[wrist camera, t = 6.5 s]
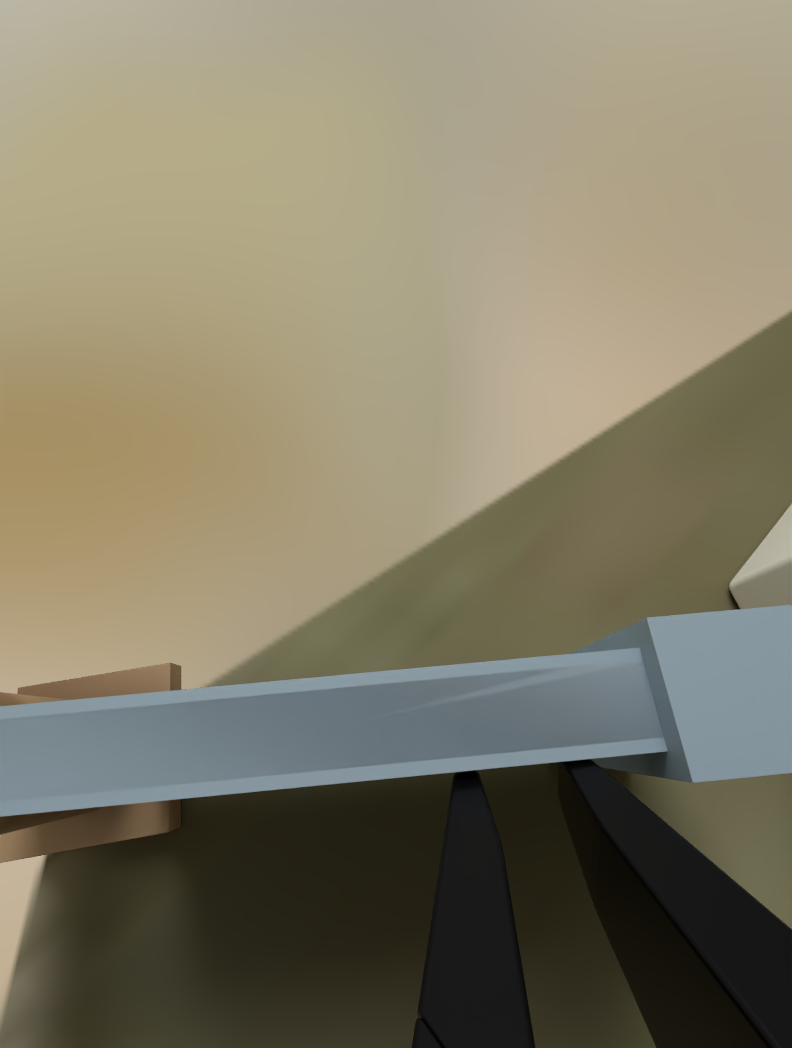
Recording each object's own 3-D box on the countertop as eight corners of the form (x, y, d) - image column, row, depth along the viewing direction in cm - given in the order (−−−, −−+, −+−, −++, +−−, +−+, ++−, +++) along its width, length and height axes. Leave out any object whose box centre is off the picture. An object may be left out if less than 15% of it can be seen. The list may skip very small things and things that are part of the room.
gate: (167, 795, 14) (-73, 859, 7) (174, 704, 15) (-32, 678, 8) (628, 750, 15) (854, 766, 7) (608, 665, 15) (790, 604, 8)
